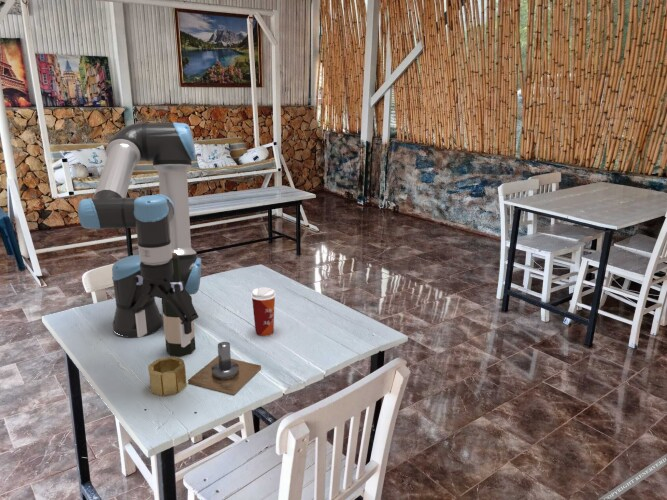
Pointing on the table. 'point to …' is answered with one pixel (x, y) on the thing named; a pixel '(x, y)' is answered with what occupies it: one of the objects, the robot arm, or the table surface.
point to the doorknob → (225, 372)
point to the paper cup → (263, 310)
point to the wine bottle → (175, 320)
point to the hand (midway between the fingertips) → (163, 340)
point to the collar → (167, 376)
